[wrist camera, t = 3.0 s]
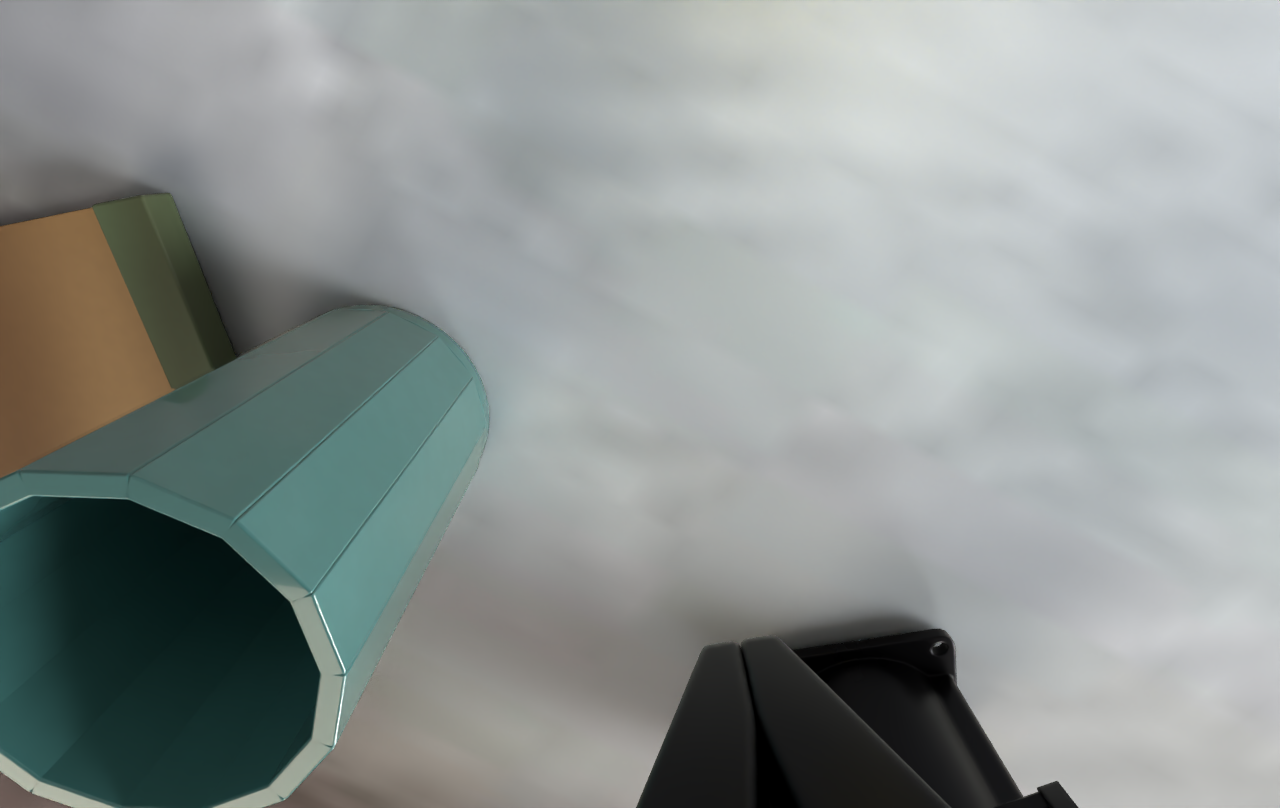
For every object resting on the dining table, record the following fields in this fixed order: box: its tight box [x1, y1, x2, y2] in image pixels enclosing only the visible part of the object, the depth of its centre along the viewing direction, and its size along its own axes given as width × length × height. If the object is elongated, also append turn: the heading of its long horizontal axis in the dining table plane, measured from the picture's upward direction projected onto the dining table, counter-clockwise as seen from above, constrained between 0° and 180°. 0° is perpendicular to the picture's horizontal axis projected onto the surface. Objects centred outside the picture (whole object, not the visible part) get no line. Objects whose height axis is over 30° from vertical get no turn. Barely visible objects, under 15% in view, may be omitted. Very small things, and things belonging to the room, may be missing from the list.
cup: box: [0, 305, 489, 808], centre depth 15 cm, size 6×6×11 cm
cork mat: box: [0, 193, 236, 475], centre depth 21 cm, size 13×14×1 cm
